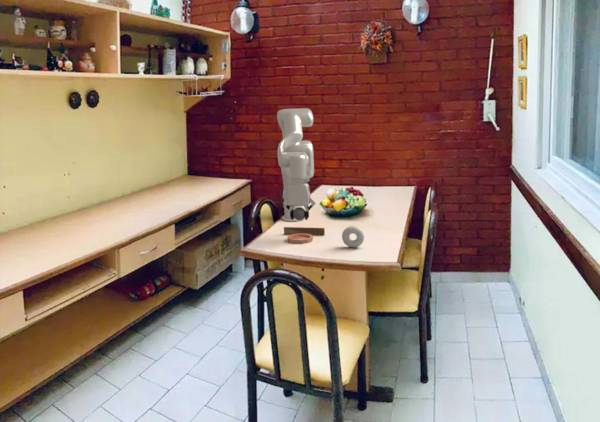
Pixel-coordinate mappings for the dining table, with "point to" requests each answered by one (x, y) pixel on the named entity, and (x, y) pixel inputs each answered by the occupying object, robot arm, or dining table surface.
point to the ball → (299, 213)
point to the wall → (304, 230)
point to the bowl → (300, 238)
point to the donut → (354, 230)
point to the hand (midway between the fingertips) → (299, 218)
